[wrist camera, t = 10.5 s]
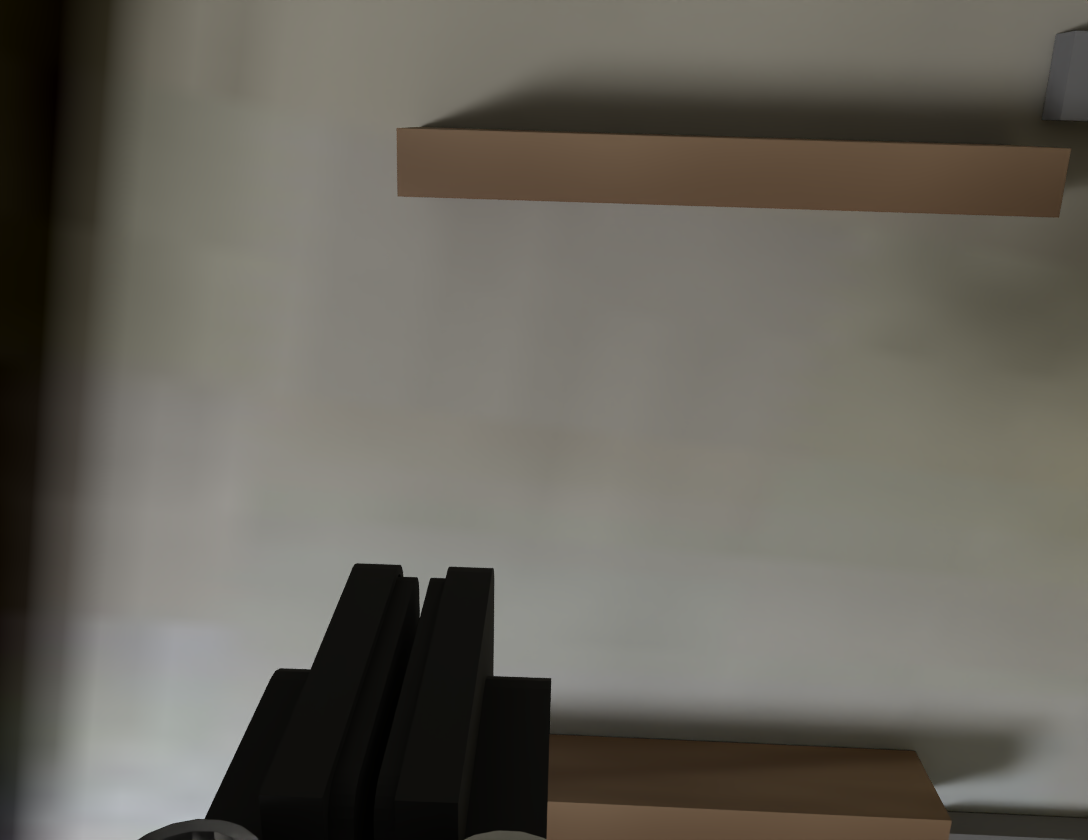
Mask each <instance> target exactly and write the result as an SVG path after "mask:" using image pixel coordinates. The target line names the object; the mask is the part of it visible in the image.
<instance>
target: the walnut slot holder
mask: <svg viewBox="0 0 1088 840" xmlns="http://www.w3.org/2000/svg"><path fill="white" fill-rule="evenodd" d="M1070 152H1071V149H1069V148H1052V147H1036V146H1019V145H993V144H960V143H927V142H894V141H861V140H828V139H795V138H762V137H729V136H696V135H663V134H630V133H597V132H564V131H531V130H498V129H465V128H432V127H410V128H397V187H398V196H404V197H435V198H467V199H498V200H529V201H560V202H591V203H623V204H654V205H685V206H716V207H747V208H779V209H810V210H841V211H872V212H903V213H935V214H966V215H997V216H1028V217H1059V214H1060V209H1061V203H1062V197H1063V192H1064V186H1065V180H1066V175H1067V169H1068V163H1069V158H1070ZM951 822H952V820H951V818H950V816H949V814H948V813H947V811H946V809H945V807H944V805H943V803H942V801H941V799H940V797H939V796H938V794H937V792H936V790H935V788H934V786H933V784H932V782H931V780H930V779H929V777H928V775H927V773H926V771H925V769H924V767H923V765H922V763H921V762H920V760H919V758H918V756H917V754H916V752H915V751H906V750H884V749H862V748H840V747H818V746H796V745H774V744H752V743H730V742H708V741H686V740H664V739H642V738H620V737H598V736H576V735H555V734H550V737H549V772H548V806H547V840H948V839H949V834H950V828H951Z"/></svg>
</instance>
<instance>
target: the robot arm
mask: <svg viewBox="0 0 1088 840" xmlns="http://www.w3.org/2000/svg"><path fill="white" fill-rule="evenodd" d="M493 657H494V569H493V568H471V567H449V568H448V571H447V575H446V578H431V579H430V581H429V585H428V589H427V593H426V597H425V600H424V604H423V608H422V612H421V616H420V607H419V582H418V578H417V577H403V570H402V567H401V565H386V564H358V563H357V564H355V565H354V566H353V568H352V571H351V573H350V575H349V578H348V580H347V583H346V585H345V588H344V590H343V592H342V595H341V597H340V600H339V602H338V604H337V607H336V609H335V612H334V614H333V617H332V619H331V621H330V624H329V626H328V629H327V631H326V633H325V636H324V638H323V641H322V643H321V646H320V648H319V650H318V653H317V655H316V658H315V660H314V662H313V665H312V667H311V670H310V669H283V668H280V669H278V670H276V671H275V673H274V674H273V676H272V677H271V679H270V681H269V683H268V685H267V687H266V690H265V692H264V694H263V696H262V698H261V700H260V702H259V704H258V706H257V709H256V711H255V713H254V715H253V717H252V719H251V721H250V723H249V726H248V728H247V730H246V732H245V734H244V736H243V738H242V740H241V743H240V745H239V747H238V749H237V751H236V753H235V755H234V757H233V760H232V762H231V764H230V766H229V768H228V770H227V772H226V774H225V777H224V779H223V781H222V783H221V785H220V787H219V789H218V791H217V794H216V796H215V798H214V800H213V802H212V804H211V806H210V808H209V811H208V813H207V815H206V817H205V819H195V820H190V821H184V822H179V823H173V824H170V825H168V826H165V827H163V828H160V829H158V830H155V831H153V832H150V833H148V834H146V835H145V836H143V837H142V838H140V839H139V840H547V806H548V772H549V737H550V702H551V678H528V677H501V676H493Z"/></svg>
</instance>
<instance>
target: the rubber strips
mask: <svg viewBox="0 0 1088 840" xmlns="http://www.w3.org/2000/svg"><path fill="white" fill-rule="evenodd" d="M1042 120H1063V121H1088V31H1071V32H1065V33H1060V34H1056V38H1055V44H1054V50H1053V56H1052V62H1051V68H1050V74H1049V80H1048V85H1047V91H1046V97H1045V103H1044V109H1043V115H1042ZM947 813H948V814H949V816H950V818H951V820H952V822H951V828H950V834H949V839H948V840H1088V818H1070V817H1049V816H1027V815H1006V814H985V813H964V812H947Z"/></svg>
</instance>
